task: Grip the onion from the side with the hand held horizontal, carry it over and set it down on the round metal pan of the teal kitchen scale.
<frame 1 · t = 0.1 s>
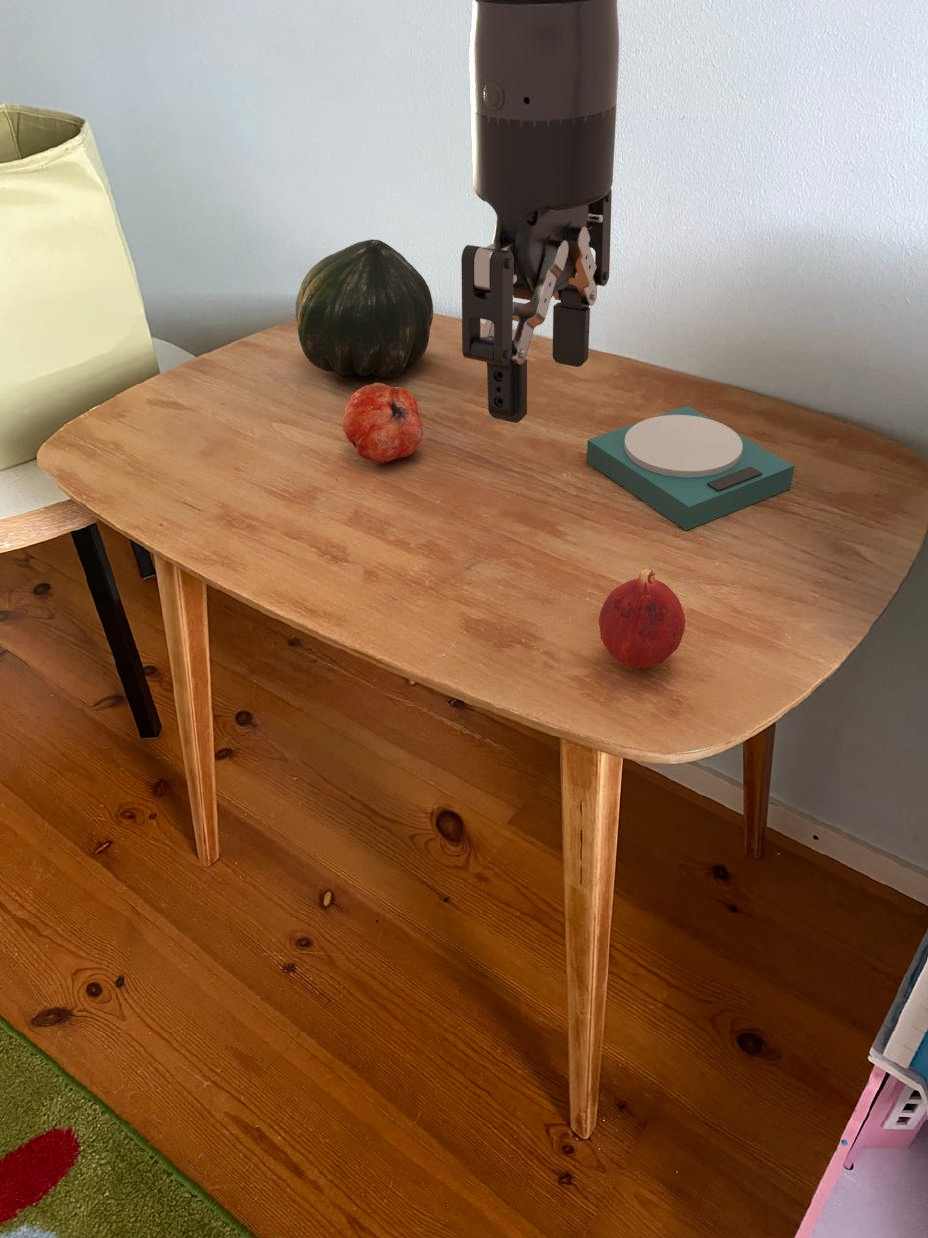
hand: (540, 389, 61), 19 cm above the table, tool pointing down, fingers open, 8 cm apart
onion: (637, 666, 70), on the table
squash: (370, 367, 111), on the table
scale: (685, 475, 90), on the table
pomegranate: (385, 456, 95), on the table
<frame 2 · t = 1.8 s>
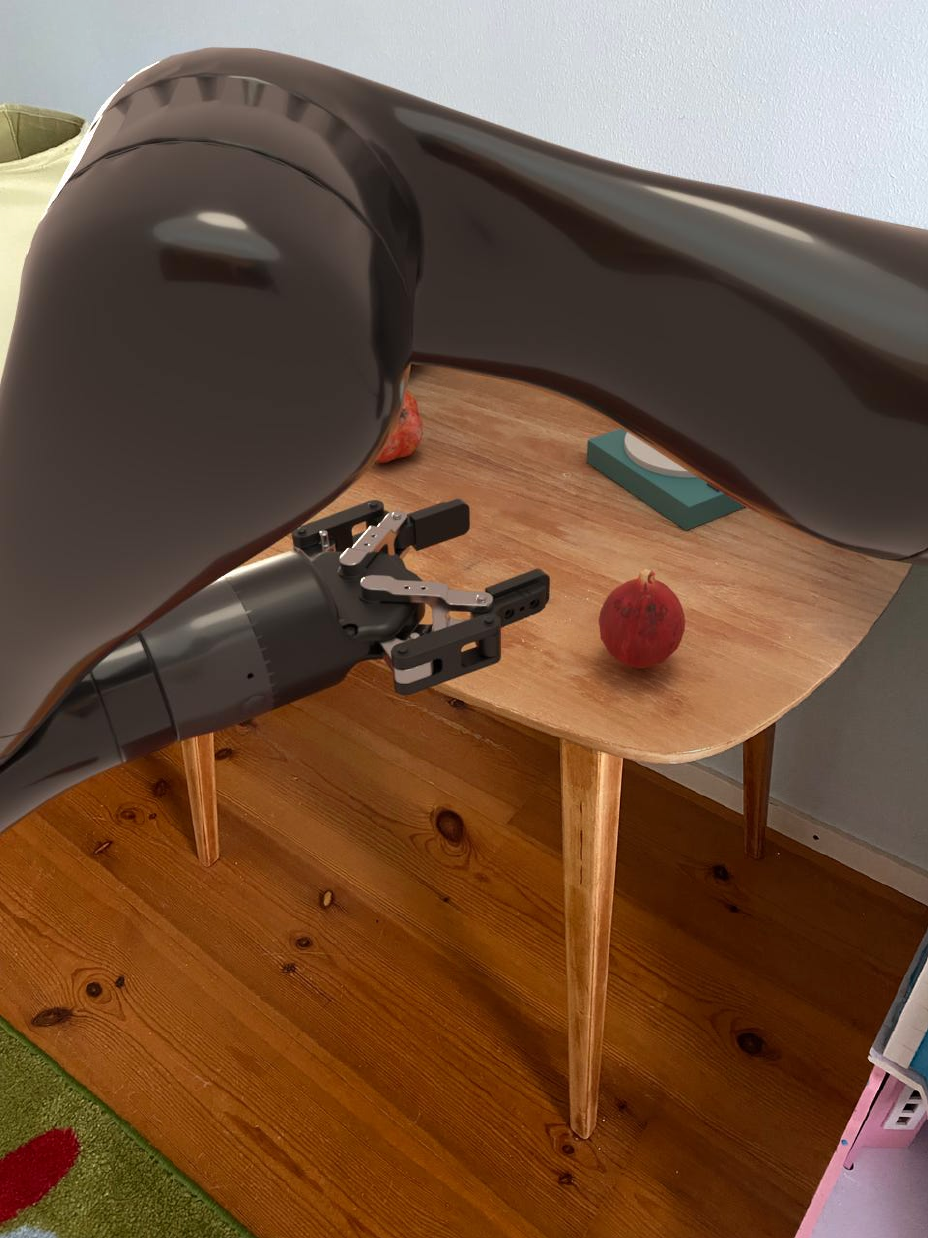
hand: (504, 548, 57), 14 cm above the table, tool horizontal, fingers open, 8 cm apart
nothing on the table moved.
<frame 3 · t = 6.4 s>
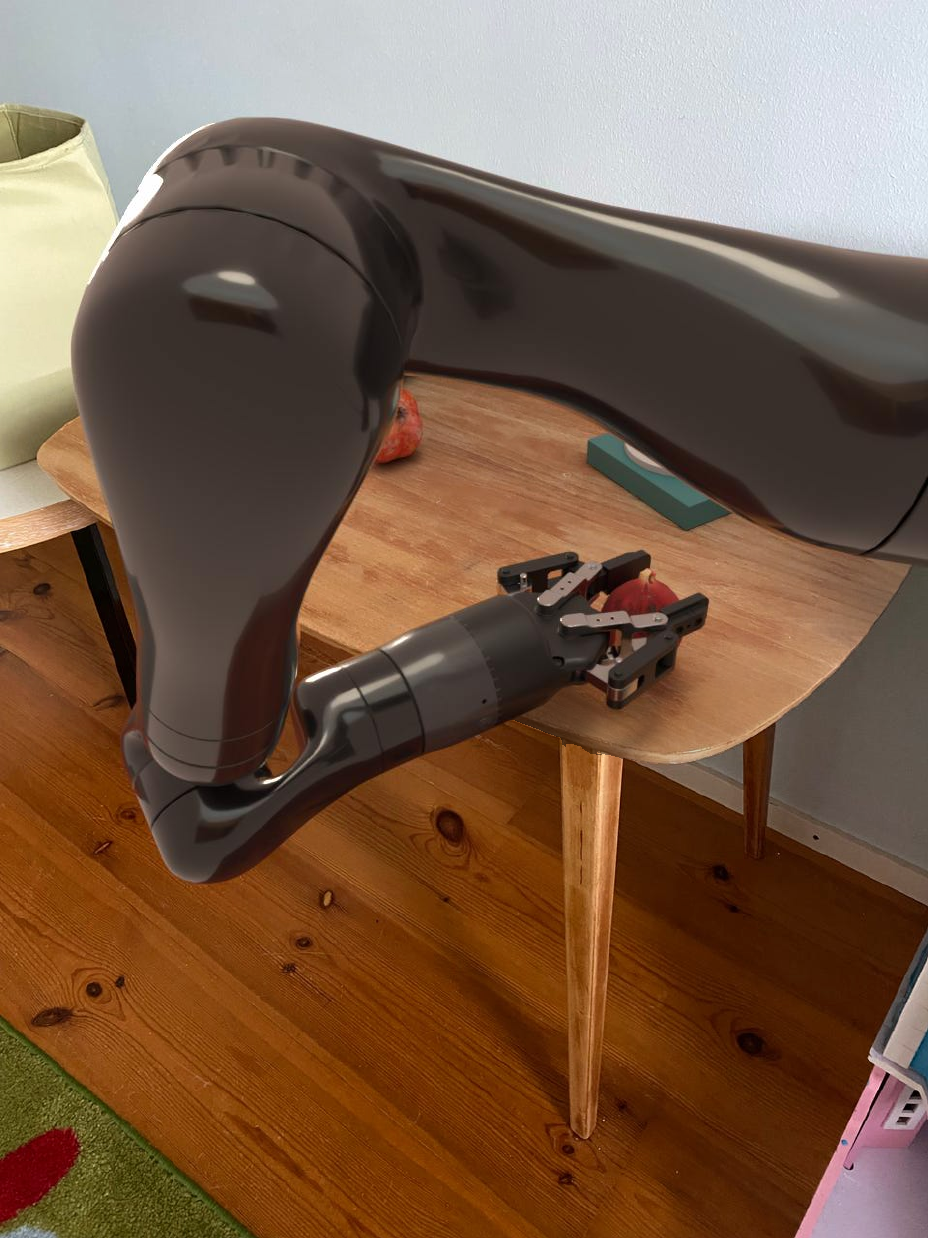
hand: (673, 584, 67), 6 cm above the table, tool horizontal, fingers closed on onion, 5 cm apart
onion: (637, 666, 70), on the table, touching gripper
everything else where it was.
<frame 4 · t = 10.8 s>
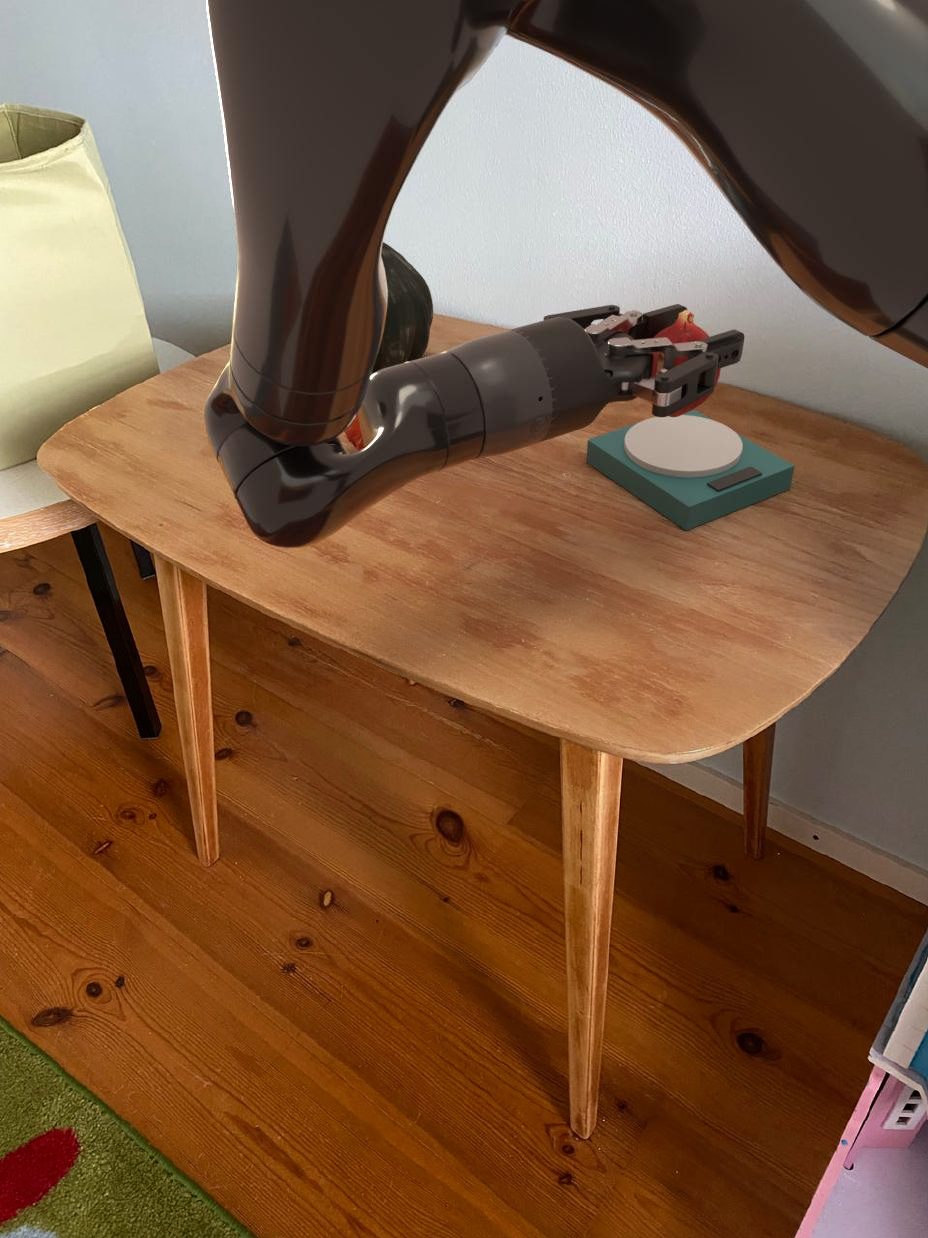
hand: (709, 331, 71), 18 cm above the table, tool horizontal, fingers closed on onion, 5 cm apart
onion: (673, 418, 74), point 11 cm above the table, touching gripper
everything else where it was.
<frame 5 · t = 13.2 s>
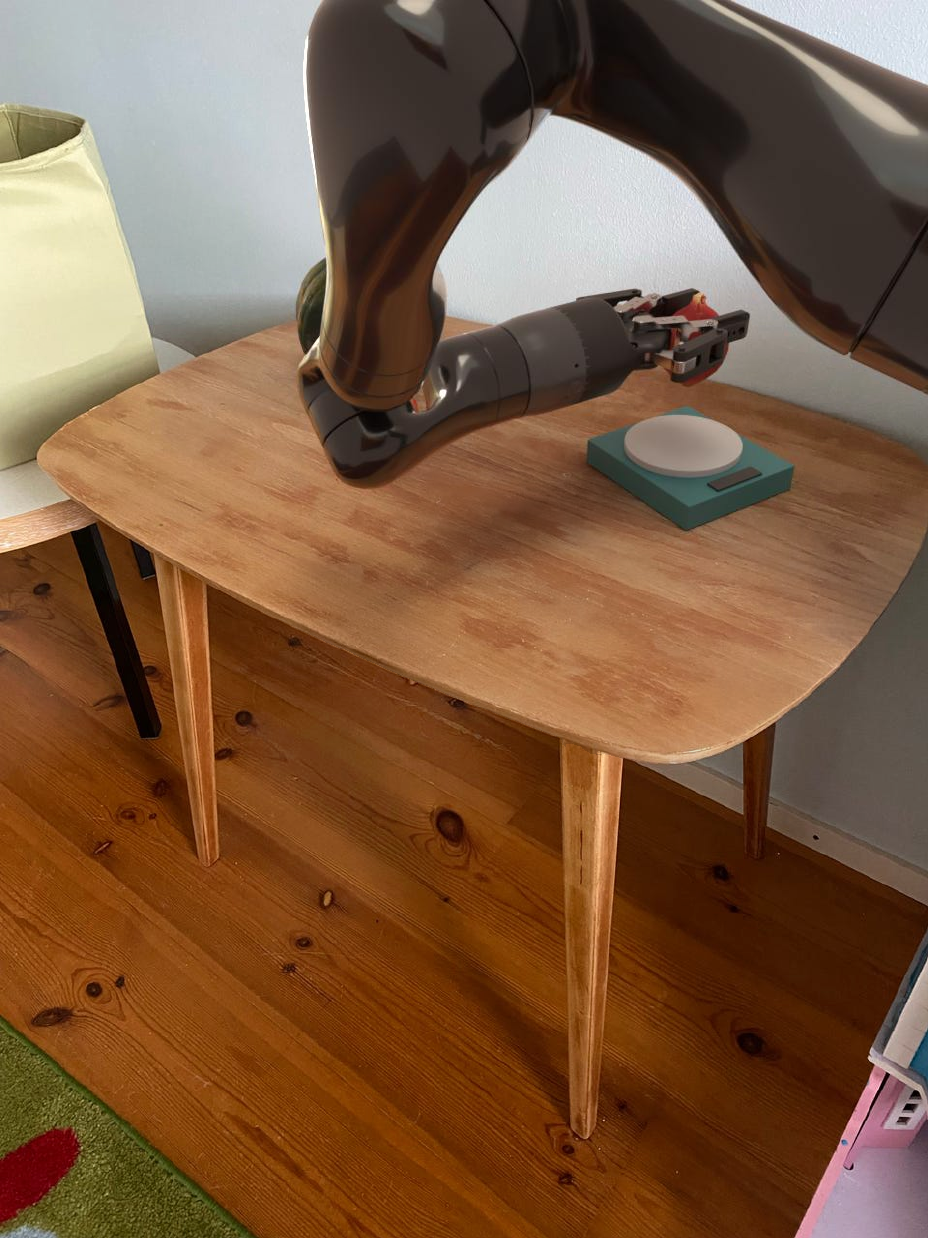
hand: (719, 311, 82), 14 cm above the table, tool horizontal, fingers closed on onion, 5 cm apart
onion: (687, 388, 85), point 8 cm above the table, touching gripper
everything else where it was.
when the fingers open (9 cm above the table, at t = 15.2 s): onion stays where it is, resting on scale.
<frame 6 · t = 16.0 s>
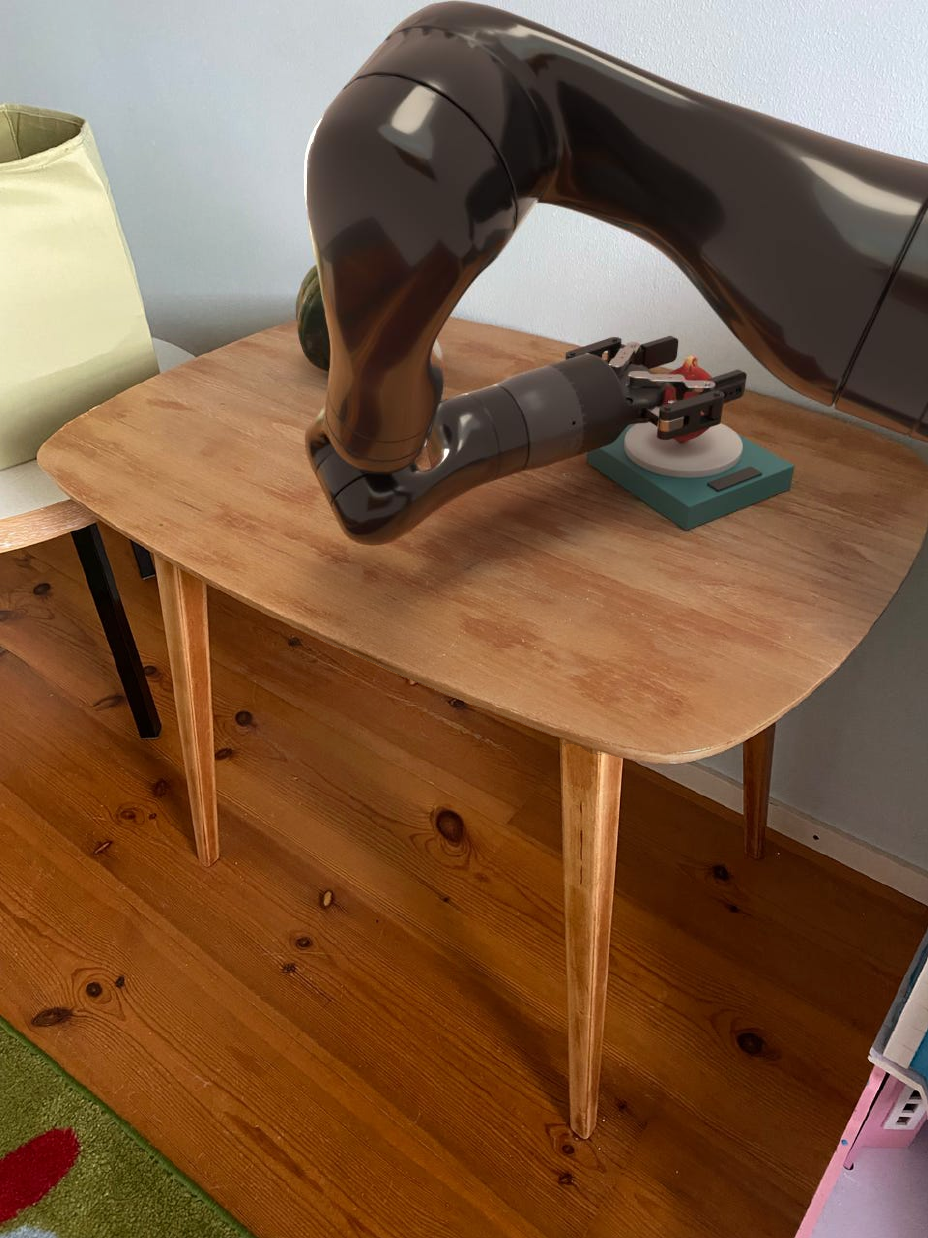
hand: (707, 364, 85), 10 cm above the table, tool horizontal, fingers open, 8 cm apart
onion: (681, 443, 88), point 3 cm above the table, touching scale
everything else where it was.
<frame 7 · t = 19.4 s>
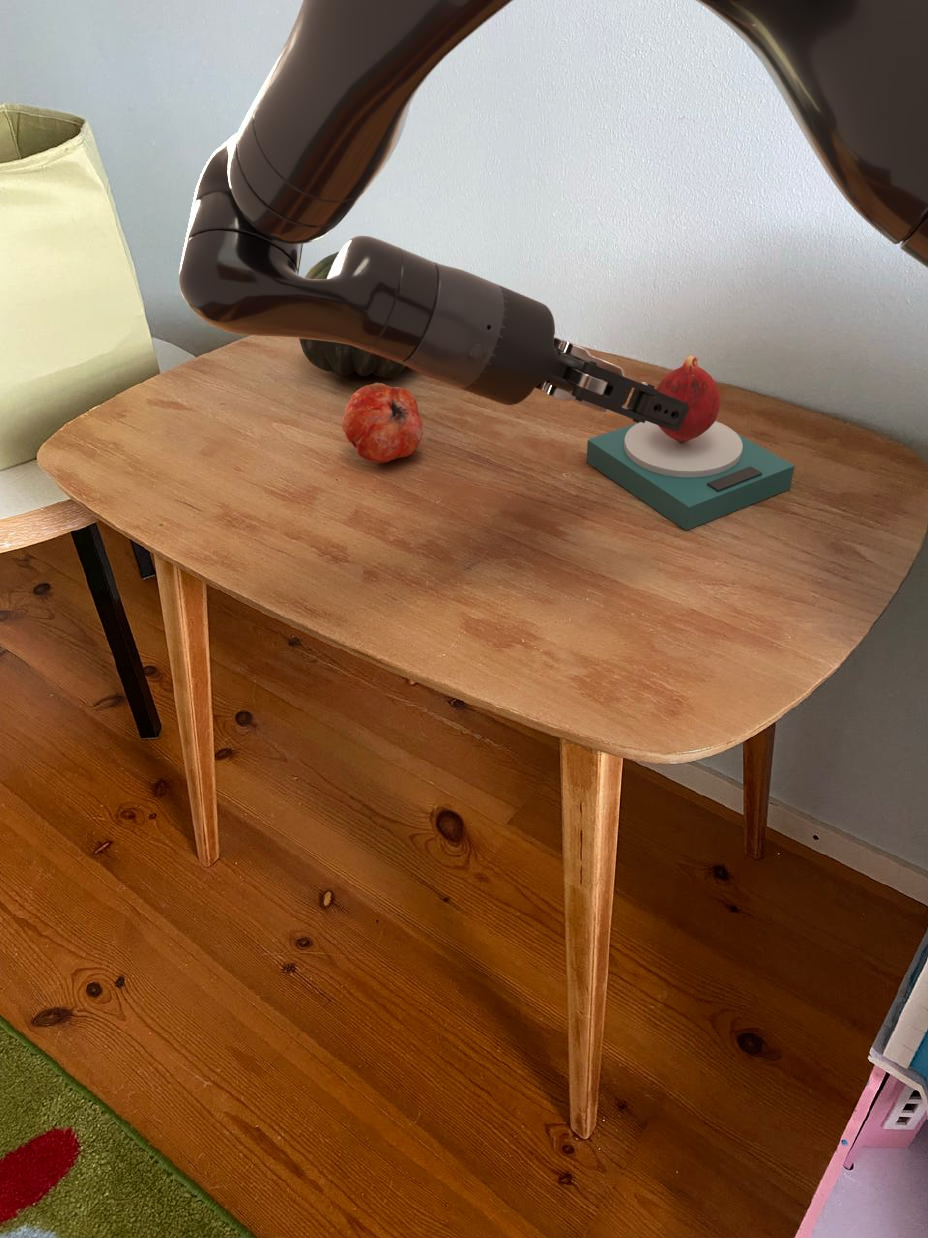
hand: (653, 405, 76), 11 cm above the table, tool tilted 60°, fingers open, 8 cm apart
nothing on the table moved.
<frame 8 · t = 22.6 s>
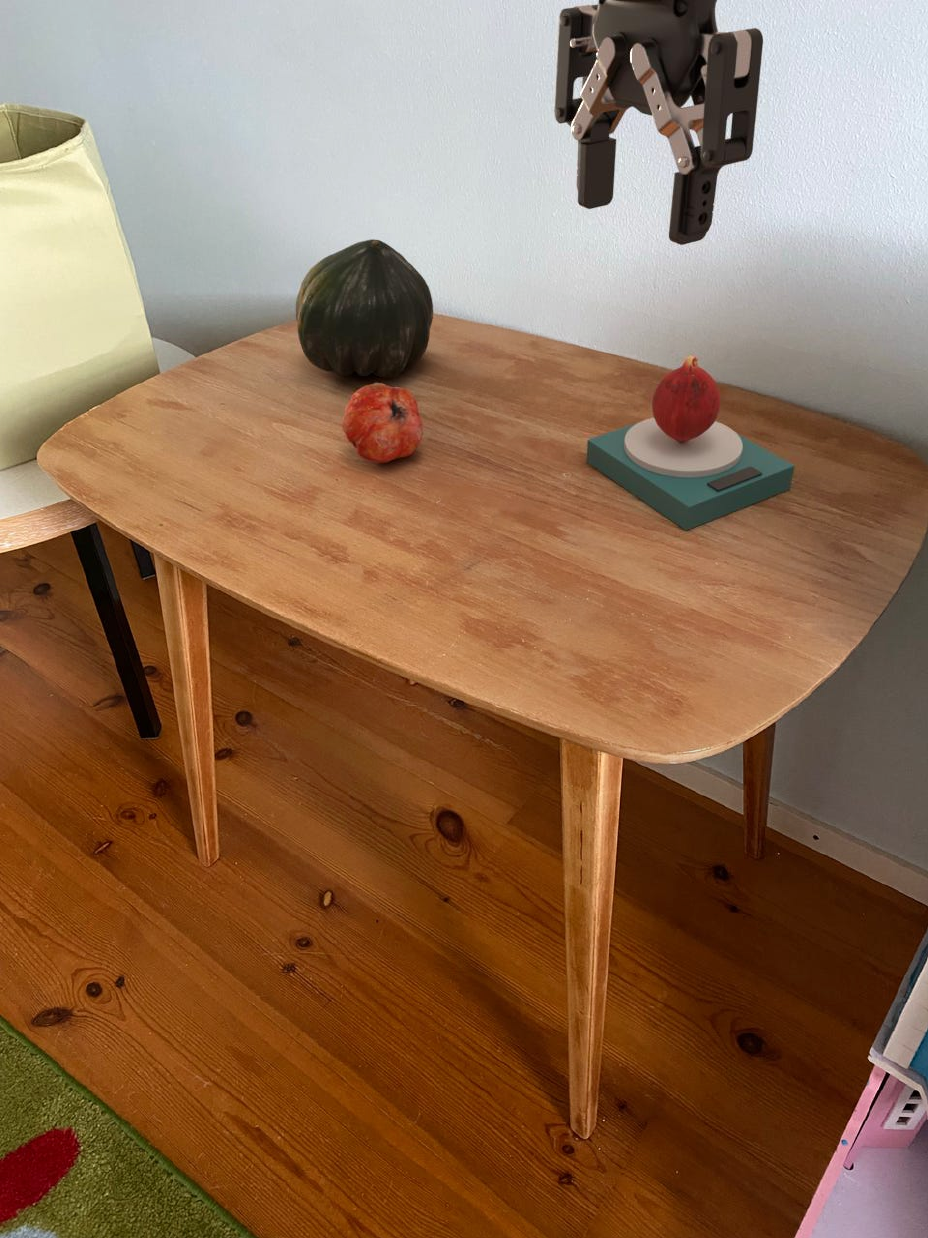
hand: (638, 222, 58), 28 cm above the table, tool pointing down, fingers open, 8 cm apart
nothing on the table moved.
at the end: onion inside the target area on the scale (0.4 cm from its centre), point 2.9 cm above the scale's base; onion touching scale; the gripper is holding nothing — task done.
